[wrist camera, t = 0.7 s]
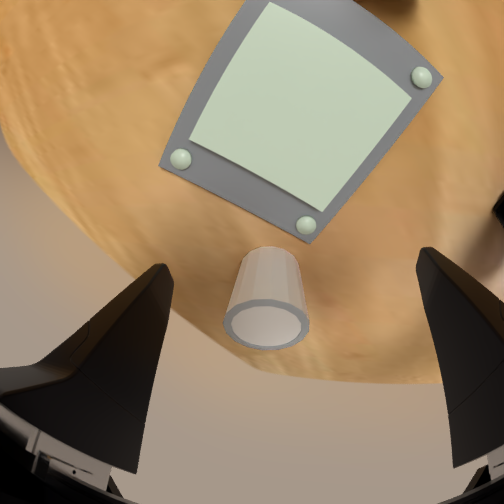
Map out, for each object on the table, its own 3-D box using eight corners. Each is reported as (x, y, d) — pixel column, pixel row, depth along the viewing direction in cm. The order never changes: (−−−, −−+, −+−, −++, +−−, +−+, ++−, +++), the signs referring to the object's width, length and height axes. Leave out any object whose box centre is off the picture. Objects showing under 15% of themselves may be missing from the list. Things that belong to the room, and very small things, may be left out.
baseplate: (438, 76, 14) (450, 79, 13) (309, 238, 25) (310, 251, 23) (276, -37, 11) (276, -45, 9) (161, 162, 21) (153, 170, 20)
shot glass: (275, 227, 24) (272, 286, 19) (319, 274, 27) (326, 333, 22) (219, 264, 27) (204, 322, 22) (265, 302, 30) (260, 359, 25)
